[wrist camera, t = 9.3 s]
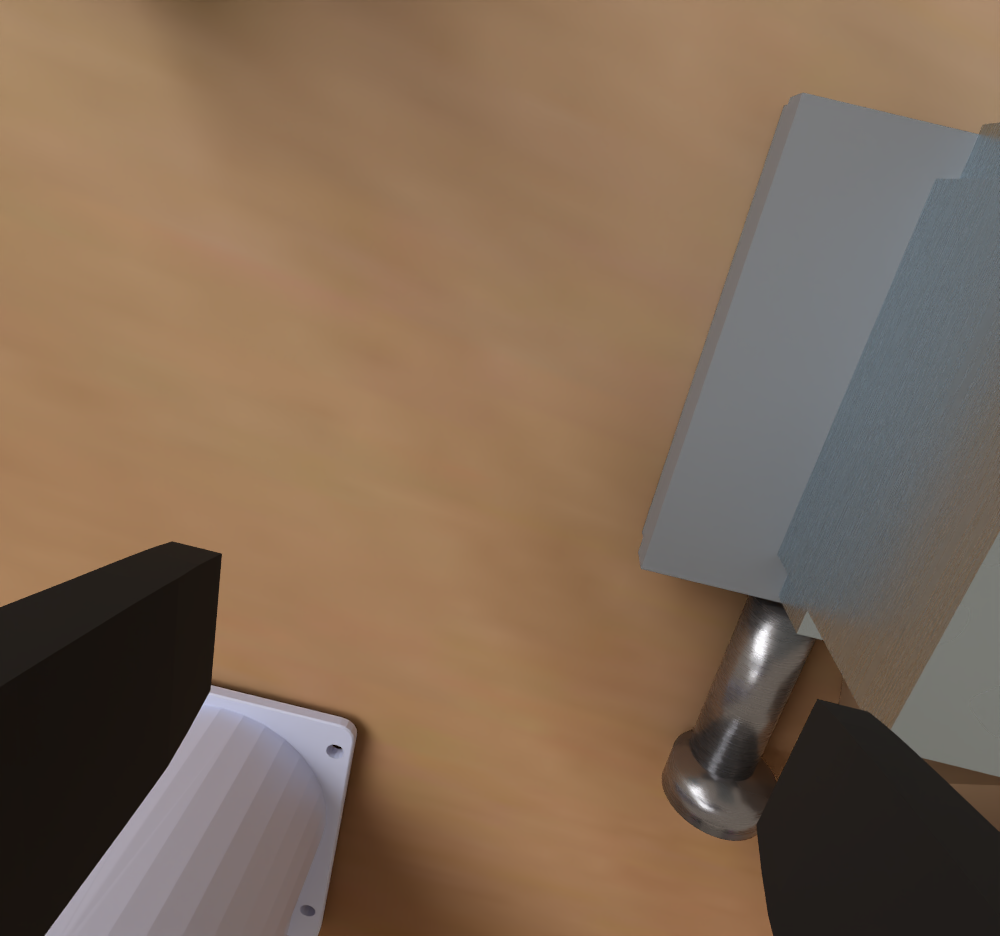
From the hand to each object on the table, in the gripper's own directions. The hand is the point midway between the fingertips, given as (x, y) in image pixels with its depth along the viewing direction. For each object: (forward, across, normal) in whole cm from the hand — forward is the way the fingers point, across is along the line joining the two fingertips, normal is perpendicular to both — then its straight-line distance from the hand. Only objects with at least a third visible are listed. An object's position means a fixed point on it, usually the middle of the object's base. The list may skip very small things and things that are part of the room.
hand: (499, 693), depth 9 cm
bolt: (+10, -7, +5) cm, 13 cm away
